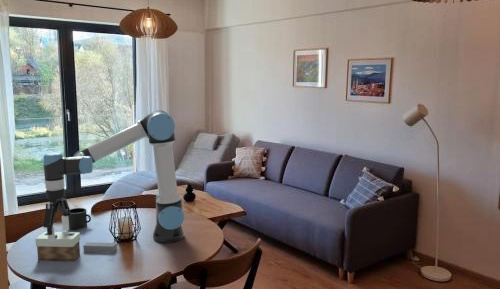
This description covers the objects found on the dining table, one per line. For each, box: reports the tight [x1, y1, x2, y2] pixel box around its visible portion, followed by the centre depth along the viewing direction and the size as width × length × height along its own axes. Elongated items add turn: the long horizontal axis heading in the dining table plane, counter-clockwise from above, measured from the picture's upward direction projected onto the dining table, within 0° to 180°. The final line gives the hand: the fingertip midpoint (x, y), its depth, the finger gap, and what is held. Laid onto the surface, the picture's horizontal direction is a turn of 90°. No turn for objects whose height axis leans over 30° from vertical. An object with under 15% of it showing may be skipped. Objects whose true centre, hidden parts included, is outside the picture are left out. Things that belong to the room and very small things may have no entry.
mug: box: [68, 207, 92, 231], centre depth 227 cm, size 9×12×9 cm
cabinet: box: [36, 234, 81, 262], centre depth 188 cm, size 16×6×10 cm, turn 89°
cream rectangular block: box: [34, 231, 81, 247], centre depth 187 cm, size 16×8×4 cm, turn 89°
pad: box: [82, 241, 118, 254], centre depth 197 cm, size 14×4×3 cm, turn 89°
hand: (59, 235), depth 187 cm, fingers open, 13 cm apart
